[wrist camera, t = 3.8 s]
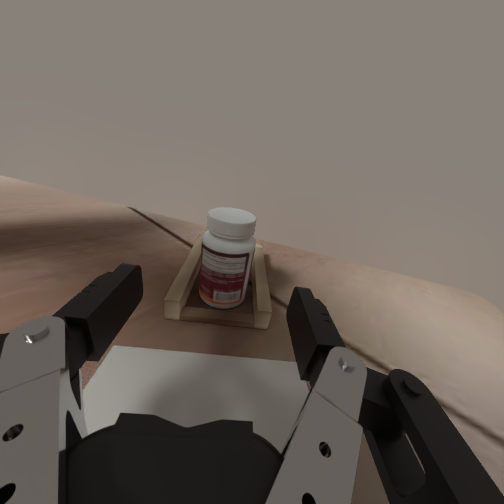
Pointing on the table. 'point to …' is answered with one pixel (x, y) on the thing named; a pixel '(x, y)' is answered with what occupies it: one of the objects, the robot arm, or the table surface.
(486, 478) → the robot arm
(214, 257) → the pill bottle
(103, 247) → the table surface
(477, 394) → the table surface
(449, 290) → the table surface
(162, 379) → the mat
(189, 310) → the wooden rectangular frame
